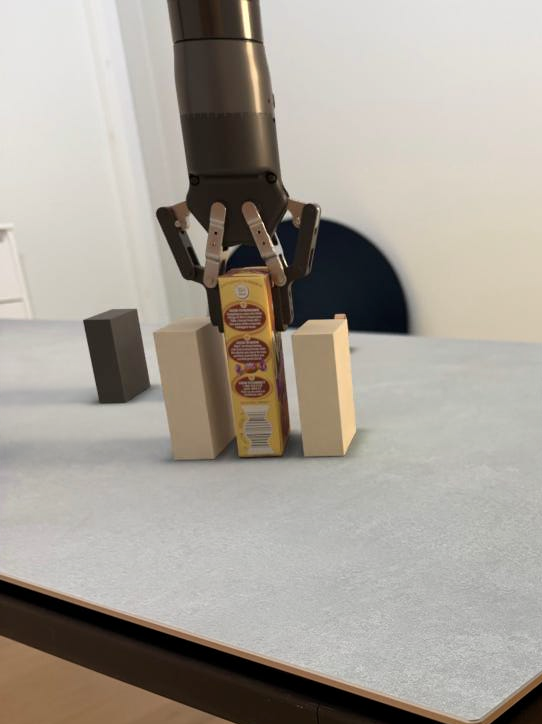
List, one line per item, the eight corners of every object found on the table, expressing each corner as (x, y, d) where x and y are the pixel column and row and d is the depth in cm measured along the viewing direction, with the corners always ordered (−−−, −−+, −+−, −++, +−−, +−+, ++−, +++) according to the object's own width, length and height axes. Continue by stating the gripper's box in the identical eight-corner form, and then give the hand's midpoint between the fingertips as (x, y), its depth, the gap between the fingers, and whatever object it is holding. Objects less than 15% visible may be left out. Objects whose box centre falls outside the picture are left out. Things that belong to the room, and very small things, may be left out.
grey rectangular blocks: (99, 403, 107) (82, 319, 103) (126, 386, 116) (111, 309, 112) (231, 399, 107) (219, 316, 103) (249, 383, 115) (238, 305, 111)
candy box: (287, 456, 85) (264, 274, 78) (238, 459, 85) (211, 276, 78) (295, 432, 93) (275, 265, 86) (250, 434, 92) (226, 267, 86)
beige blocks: (174, 460, 85) (152, 332, 80) (201, 435, 93) (183, 317, 88) (344, 456, 85) (332, 327, 80) (356, 431, 93) (346, 313, 88)
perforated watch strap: (331, 353, 133) (328, 316, 131) (336, 348, 138) (333, 312, 135) (350, 353, 133) (347, 316, 131) (355, 347, 137) (352, 311, 135)
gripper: (123, 110, 73) (161, 340, 81) (307, 105, 73) (328, 336, 81) (153, 115, 80) (185, 327, 88) (322, 111, 80) (340, 323, 87)
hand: (254, 330), depth 84 cm, fingers closed on candy box, 4 cm apart
